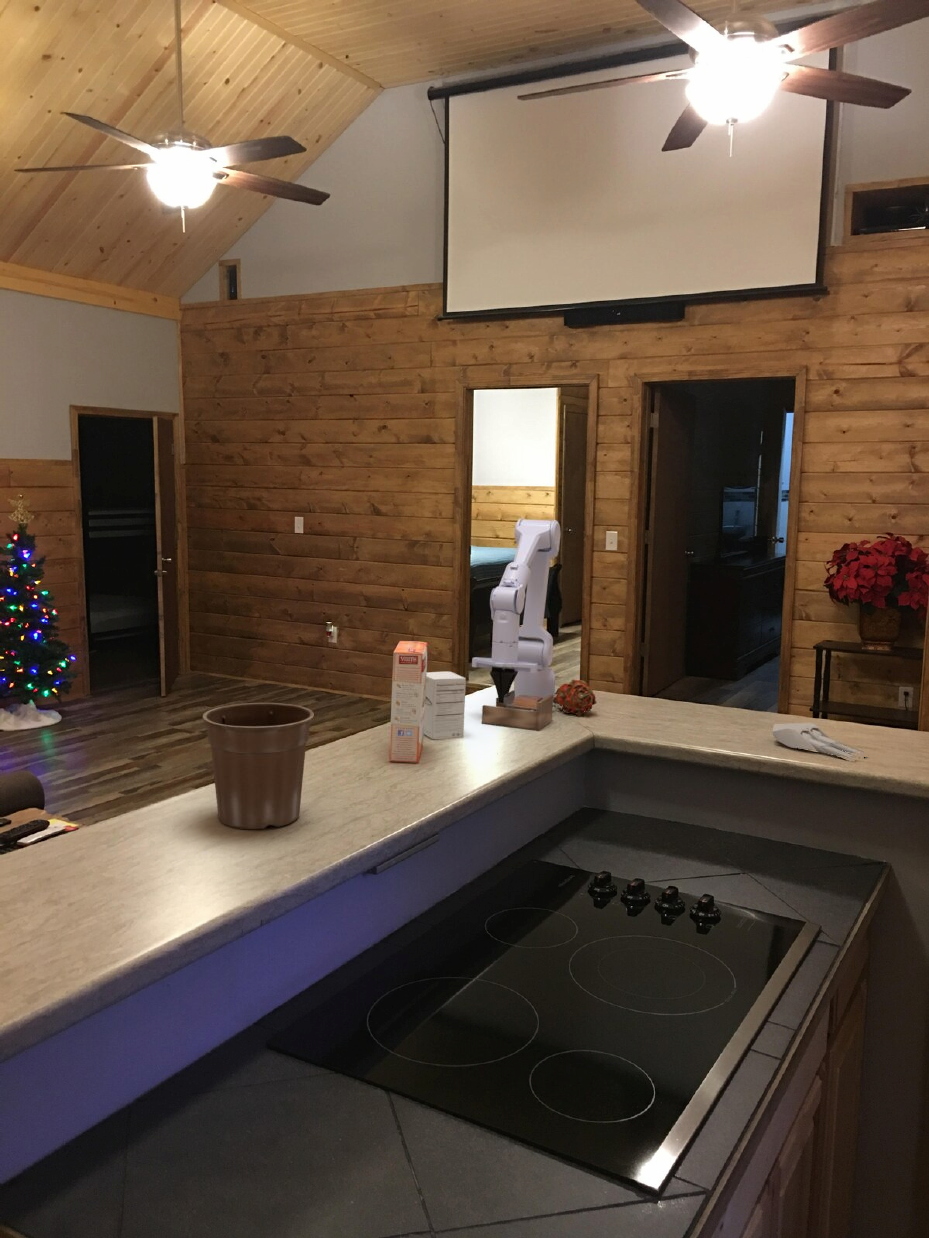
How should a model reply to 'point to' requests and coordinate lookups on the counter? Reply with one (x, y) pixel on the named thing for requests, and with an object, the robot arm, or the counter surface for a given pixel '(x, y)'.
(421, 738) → the cracker box
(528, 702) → the wheeled platform dolly
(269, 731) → the plant pot
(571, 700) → the dragon fruit
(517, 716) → the brown wooden open box
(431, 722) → the supplement box
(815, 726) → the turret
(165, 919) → the counter surface
